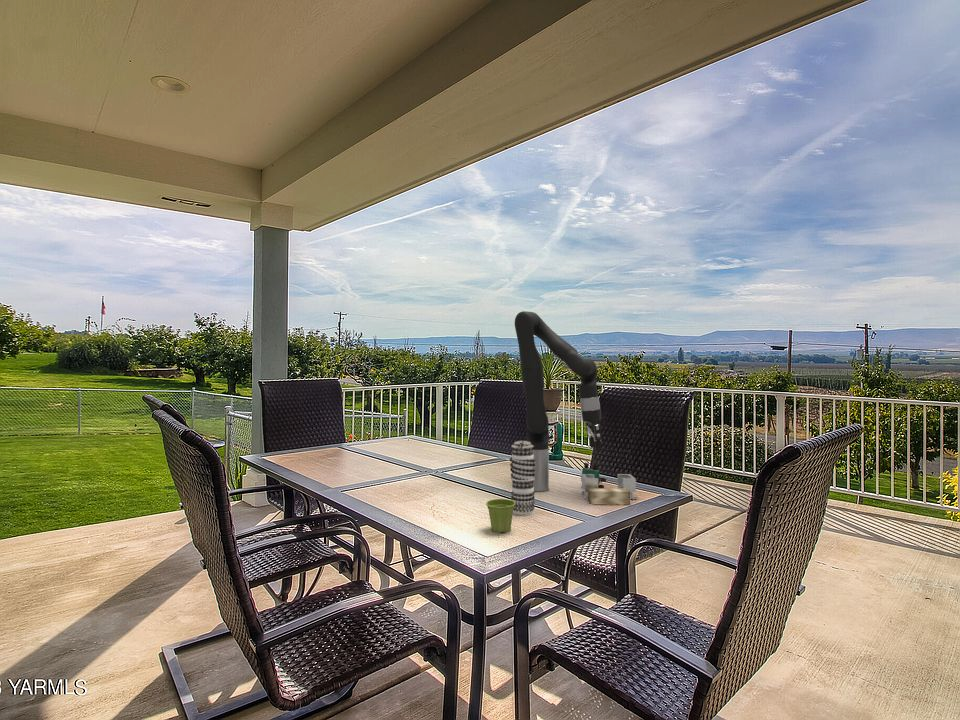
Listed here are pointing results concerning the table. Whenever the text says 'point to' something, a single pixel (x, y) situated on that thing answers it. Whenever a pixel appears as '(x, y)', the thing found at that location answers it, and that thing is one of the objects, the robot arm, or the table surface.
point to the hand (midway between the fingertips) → (596, 449)
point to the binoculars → (593, 471)
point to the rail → (609, 496)
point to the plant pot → (500, 514)
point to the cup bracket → (623, 483)
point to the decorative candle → (522, 477)
